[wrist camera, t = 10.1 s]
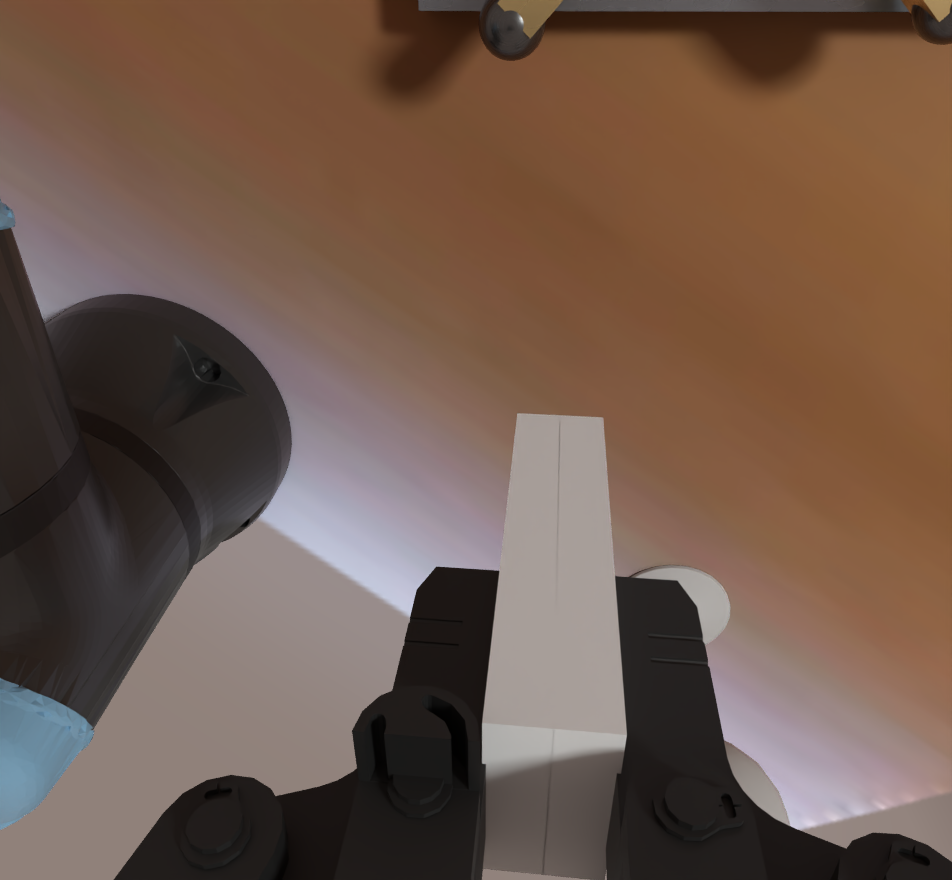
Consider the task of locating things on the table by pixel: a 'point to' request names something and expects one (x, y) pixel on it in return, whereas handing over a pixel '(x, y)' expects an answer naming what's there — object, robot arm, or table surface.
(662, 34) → the table surface
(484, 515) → the table surface
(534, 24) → the capstan
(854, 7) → the stand
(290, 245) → the table surface
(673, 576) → the wineglass
